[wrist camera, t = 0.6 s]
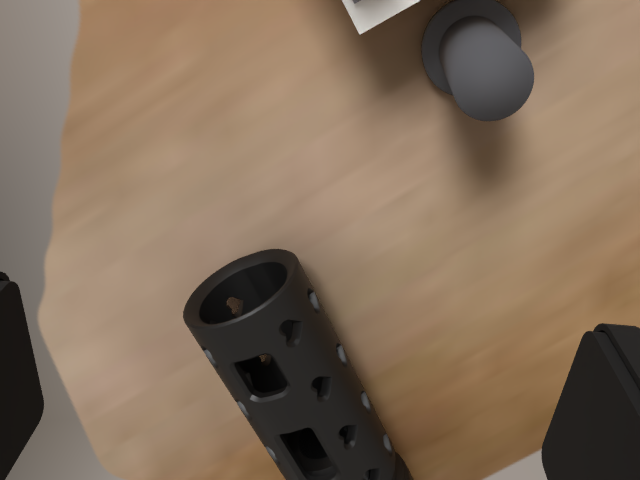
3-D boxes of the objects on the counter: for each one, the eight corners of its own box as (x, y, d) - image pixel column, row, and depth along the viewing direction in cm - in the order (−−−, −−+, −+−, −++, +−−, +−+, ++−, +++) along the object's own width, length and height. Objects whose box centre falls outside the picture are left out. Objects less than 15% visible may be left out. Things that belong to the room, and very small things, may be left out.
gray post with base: (496, -24, 36) (529, -5, 28) (531, 65, 38) (571, 106, 30) (405, 26, 38) (412, 58, 30) (444, 108, 40) (460, 158, 32)
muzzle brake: (309, 226, 45) (292, 305, 36) (426, 468, 57) (435, 573, 48) (201, 263, 48) (160, 346, 39) (334, 487, 60) (326, 590, 51)
